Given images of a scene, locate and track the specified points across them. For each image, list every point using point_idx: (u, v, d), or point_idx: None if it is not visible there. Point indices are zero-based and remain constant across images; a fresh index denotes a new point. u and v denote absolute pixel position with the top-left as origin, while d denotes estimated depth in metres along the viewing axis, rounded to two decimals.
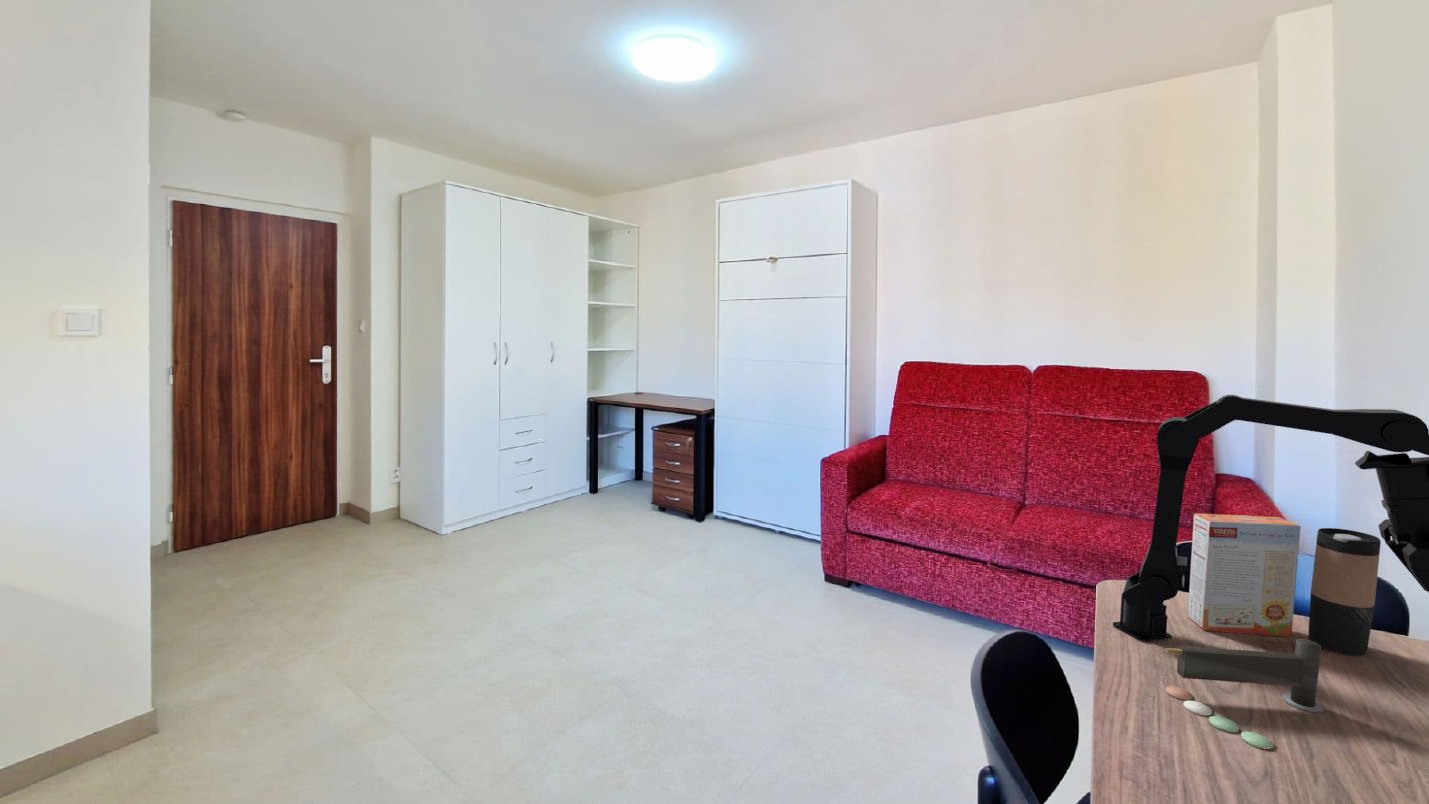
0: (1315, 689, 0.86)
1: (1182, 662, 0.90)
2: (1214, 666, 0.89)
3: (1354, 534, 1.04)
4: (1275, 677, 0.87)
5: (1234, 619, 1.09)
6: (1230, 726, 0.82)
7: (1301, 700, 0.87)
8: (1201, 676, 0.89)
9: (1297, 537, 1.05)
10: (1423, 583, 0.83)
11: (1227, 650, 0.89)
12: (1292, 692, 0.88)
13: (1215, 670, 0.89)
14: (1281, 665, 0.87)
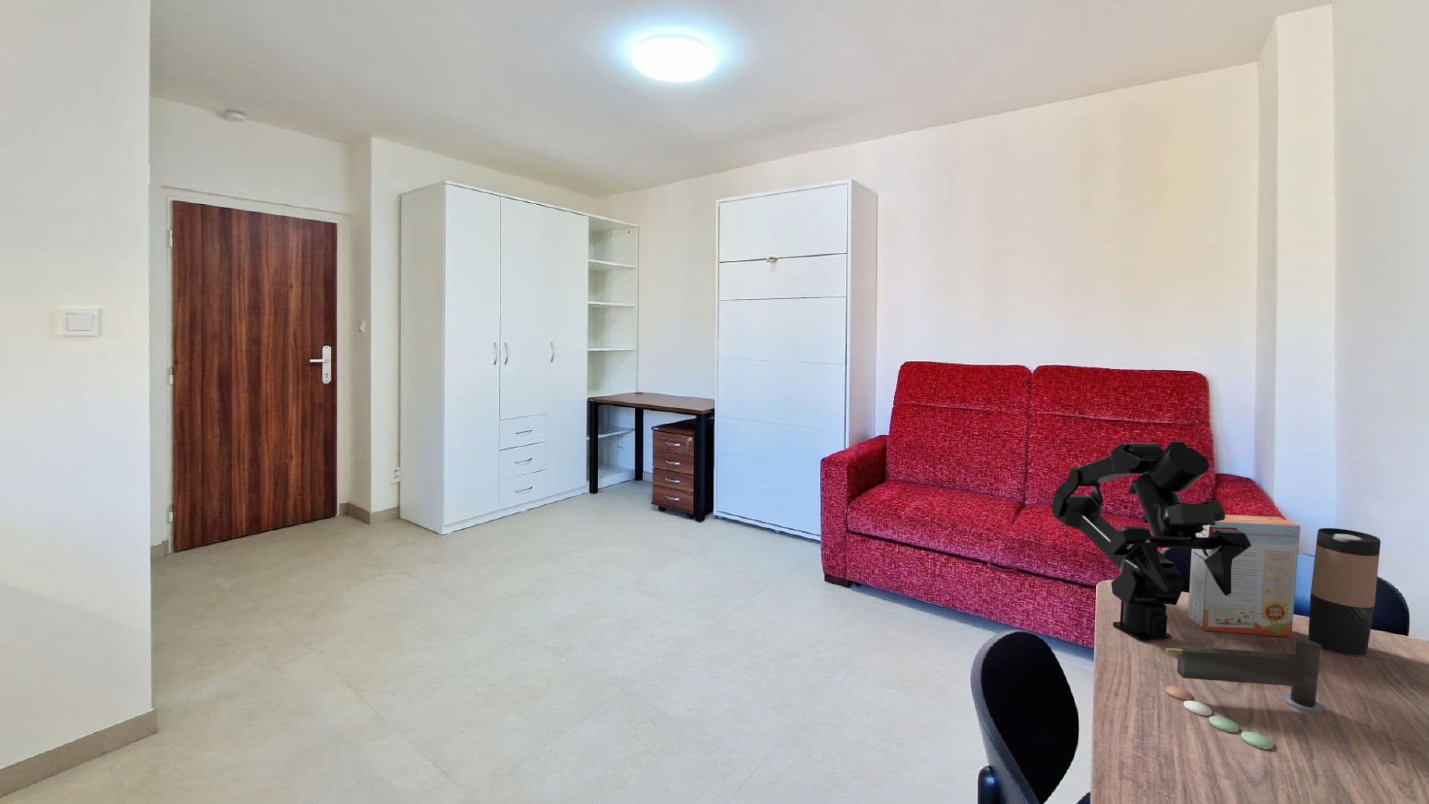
0: (1315, 689, 0.86)
1: (1182, 662, 0.90)
2: (1214, 666, 0.89)
3: (1354, 534, 1.04)
4: (1275, 677, 0.87)
5: (1234, 619, 1.09)
6: (1230, 726, 0.82)
7: (1301, 700, 0.87)
8: (1201, 676, 0.89)
9: (1297, 537, 1.05)
10: (1141, 568, 1.00)
11: (1227, 650, 0.89)
12: (1292, 692, 0.88)
13: (1215, 670, 0.89)
14: (1281, 665, 0.87)
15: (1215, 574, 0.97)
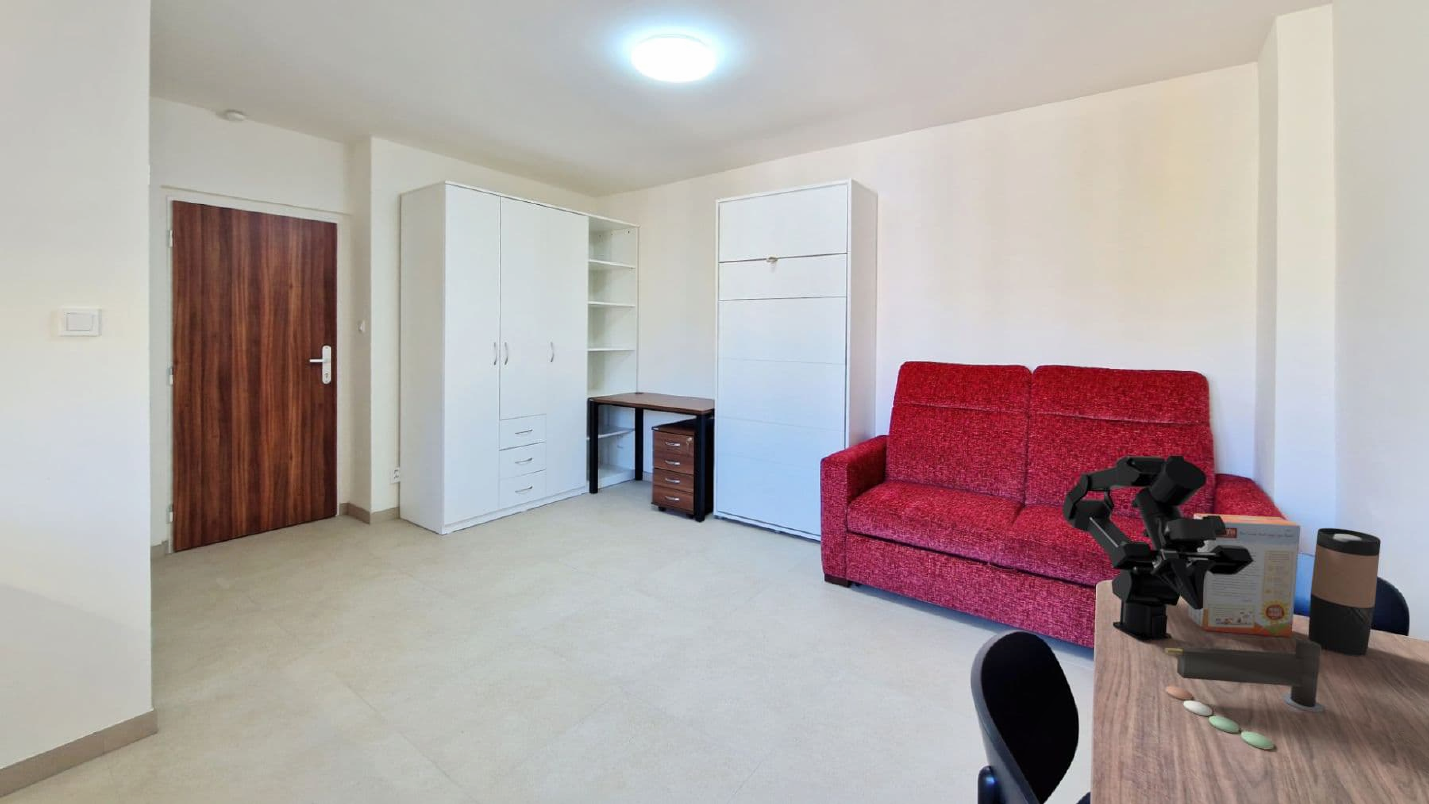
0: (1315, 689, 0.86)
1: (1182, 662, 0.90)
2: (1214, 666, 0.89)
3: (1354, 534, 1.04)
4: (1275, 677, 0.87)
5: (1234, 619, 1.09)
6: (1230, 726, 0.82)
7: (1301, 700, 0.87)
8: (1201, 676, 0.89)
9: (1297, 537, 1.05)
10: (1169, 584, 0.98)
11: (1227, 650, 0.89)
12: (1292, 692, 0.88)
13: (1215, 670, 0.89)
14: (1281, 665, 0.87)
15: None
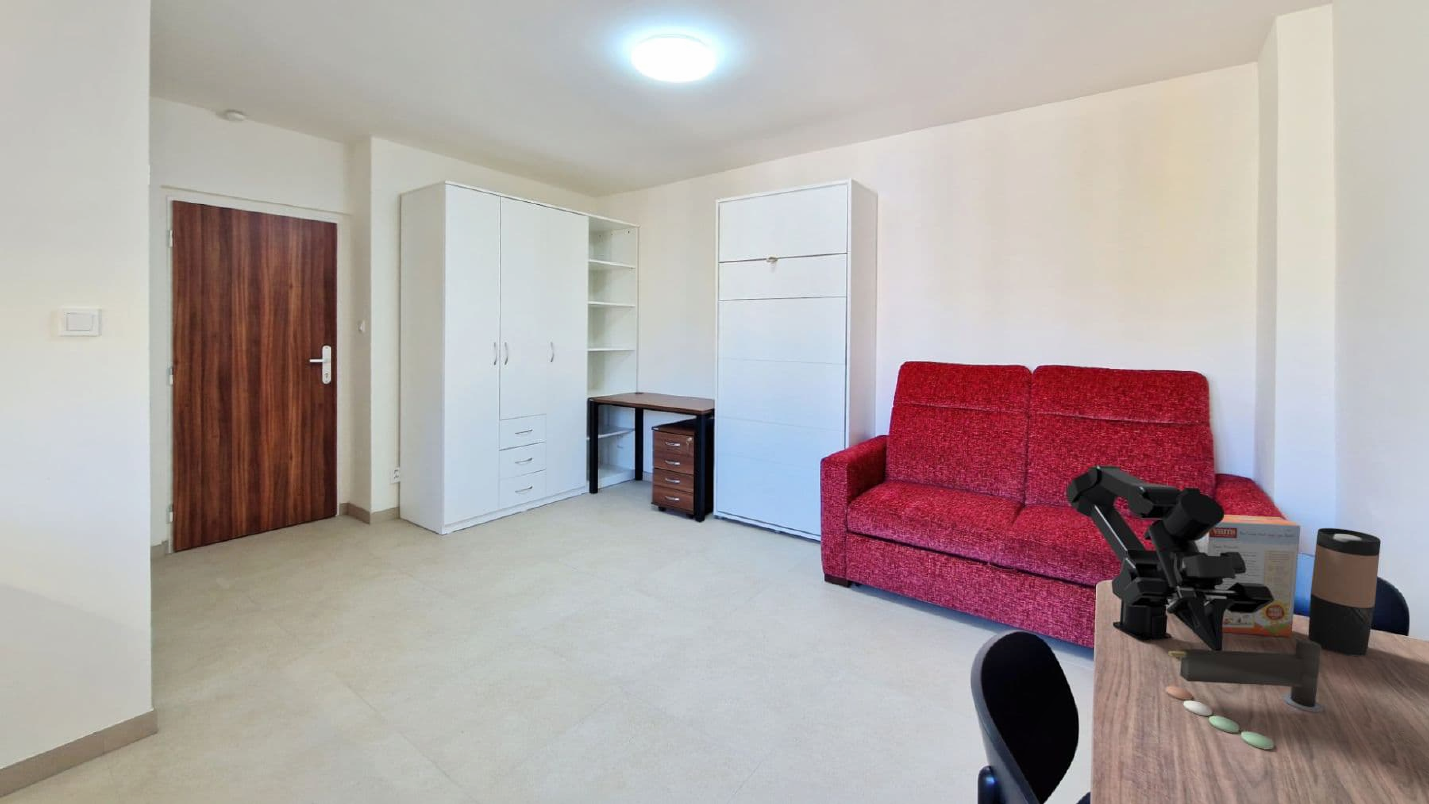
0: (1315, 689, 0.86)
1: (1186, 665, 0.89)
2: (1217, 668, 0.88)
3: (1354, 534, 1.04)
4: (1277, 678, 0.87)
5: (1234, 619, 1.09)
6: (1230, 726, 0.82)
7: (1302, 700, 0.87)
8: (1204, 679, 0.88)
9: (1297, 537, 1.05)
10: (1185, 623, 0.94)
11: (1229, 652, 0.89)
12: (1292, 692, 0.88)
13: (1218, 672, 0.88)
14: (1283, 666, 0.87)
15: None
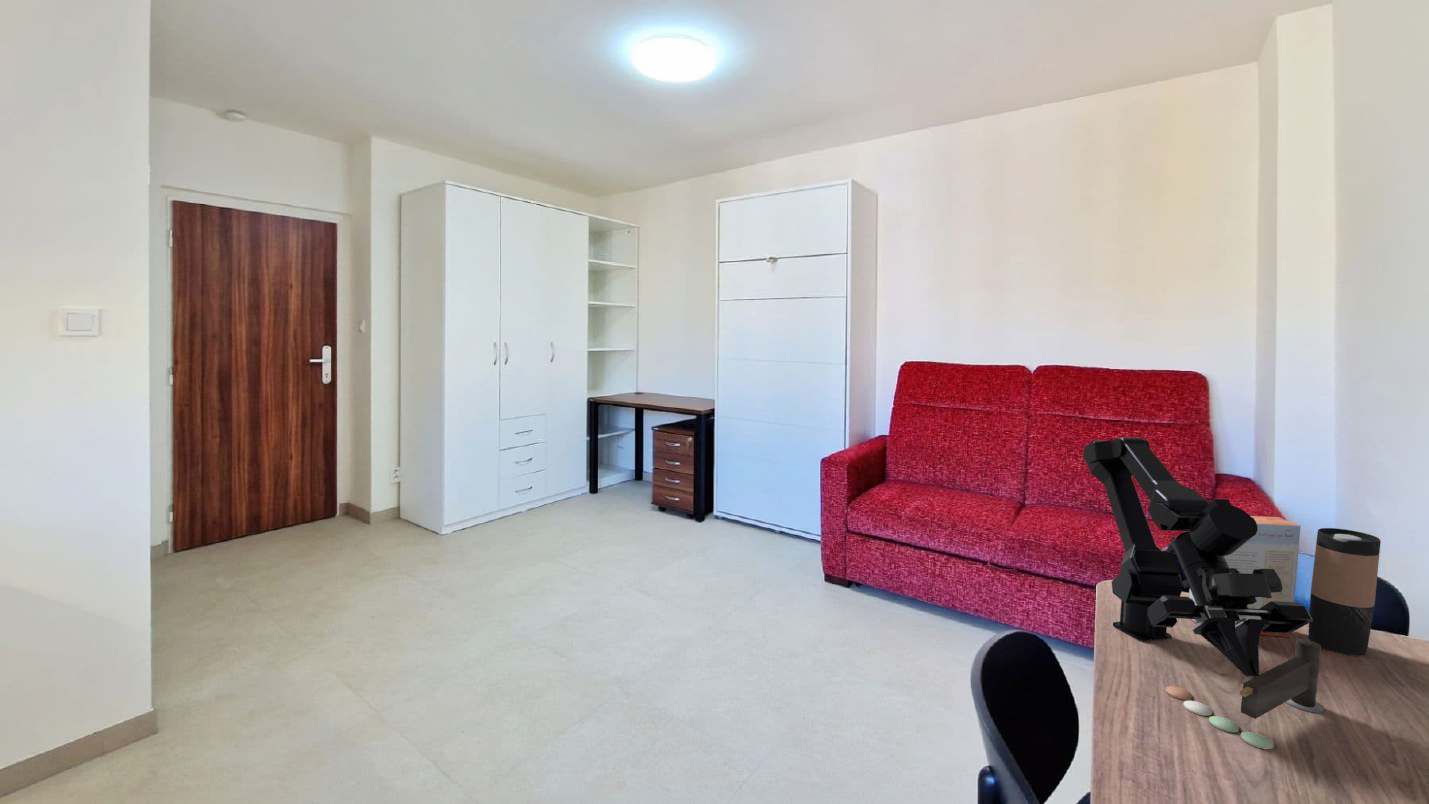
0: (1316, 687, 0.87)
1: (1252, 701, 0.80)
2: (1271, 695, 0.81)
3: (1354, 534, 1.04)
4: (1298, 687, 0.85)
5: None
6: (1230, 726, 0.82)
7: (1308, 702, 0.87)
8: (1264, 710, 0.81)
9: (1297, 537, 1.05)
10: (1214, 645, 0.87)
11: (1270, 673, 0.83)
12: (1297, 695, 0.87)
13: (1271, 699, 0.81)
14: (1301, 673, 0.85)
15: None
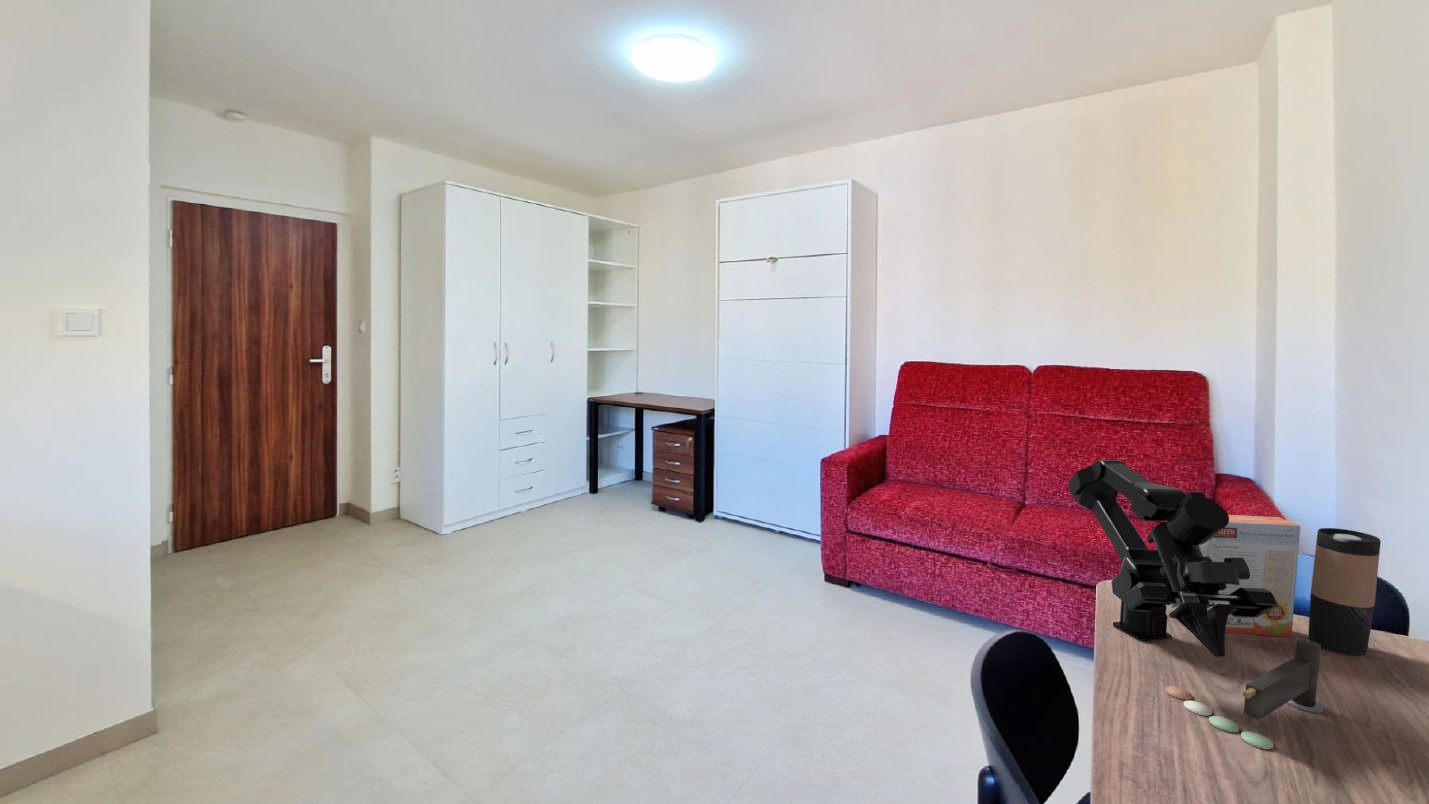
0: (1316, 687, 0.87)
1: (1255, 703, 0.80)
2: (1273, 696, 0.81)
3: (1354, 534, 1.04)
4: (1299, 687, 0.85)
5: (1234, 619, 1.09)
6: (1230, 726, 0.82)
7: (1309, 702, 0.87)
8: (1267, 711, 0.80)
9: (1297, 537, 1.05)
10: (1188, 628, 0.93)
11: (1272, 673, 0.83)
12: (1297, 695, 0.87)
13: (1274, 700, 0.81)
14: (1302, 673, 0.85)
15: None
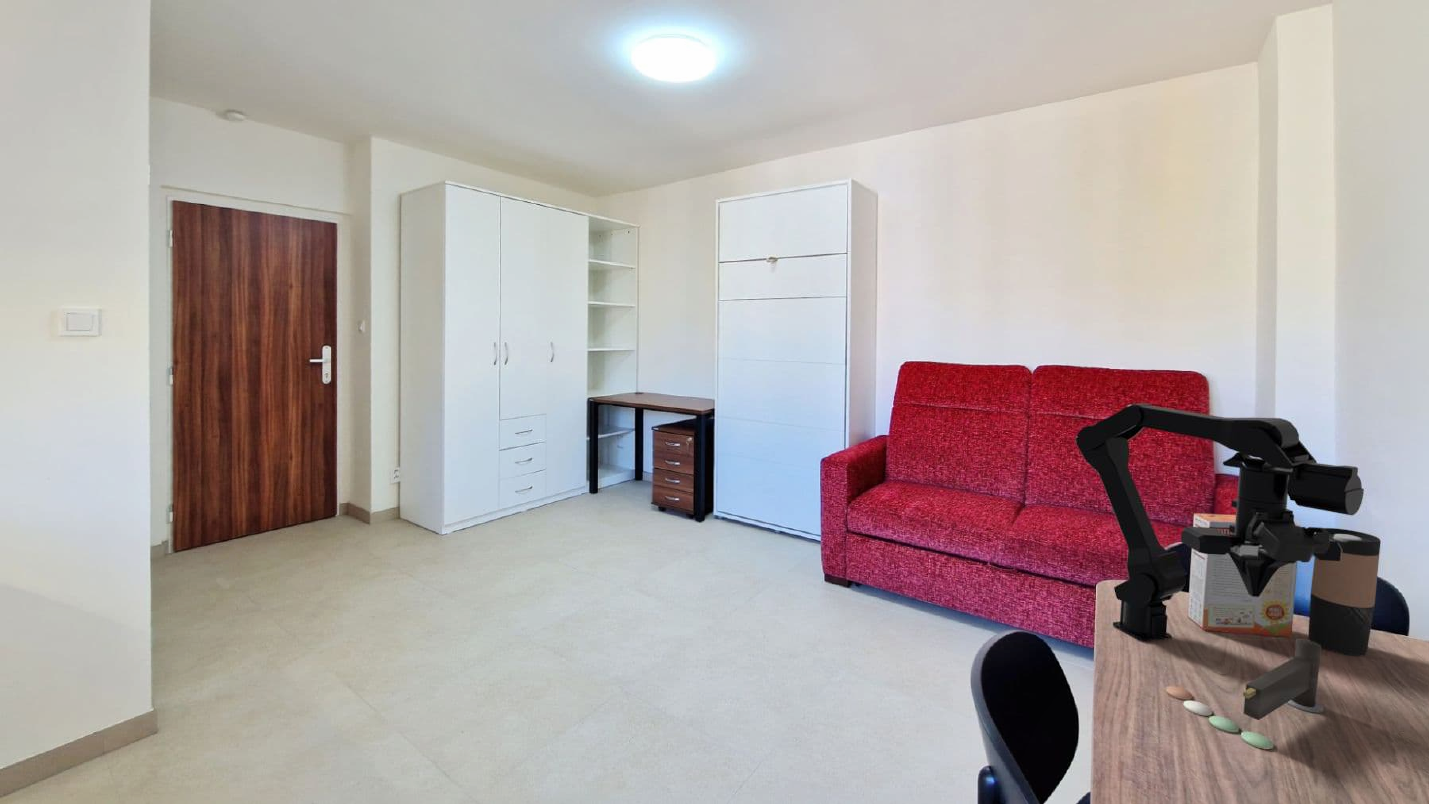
0: (1316, 687, 0.87)
1: (1255, 703, 0.80)
2: (1273, 696, 0.81)
3: (1354, 534, 1.04)
4: (1299, 687, 0.85)
5: (1234, 619, 1.09)
6: (1230, 726, 0.82)
7: (1309, 702, 0.87)
8: (1267, 711, 0.80)
9: None
10: (1234, 562, 0.96)
11: (1272, 673, 0.83)
12: (1297, 695, 0.87)
13: (1274, 700, 0.81)
14: (1302, 673, 0.85)
15: None
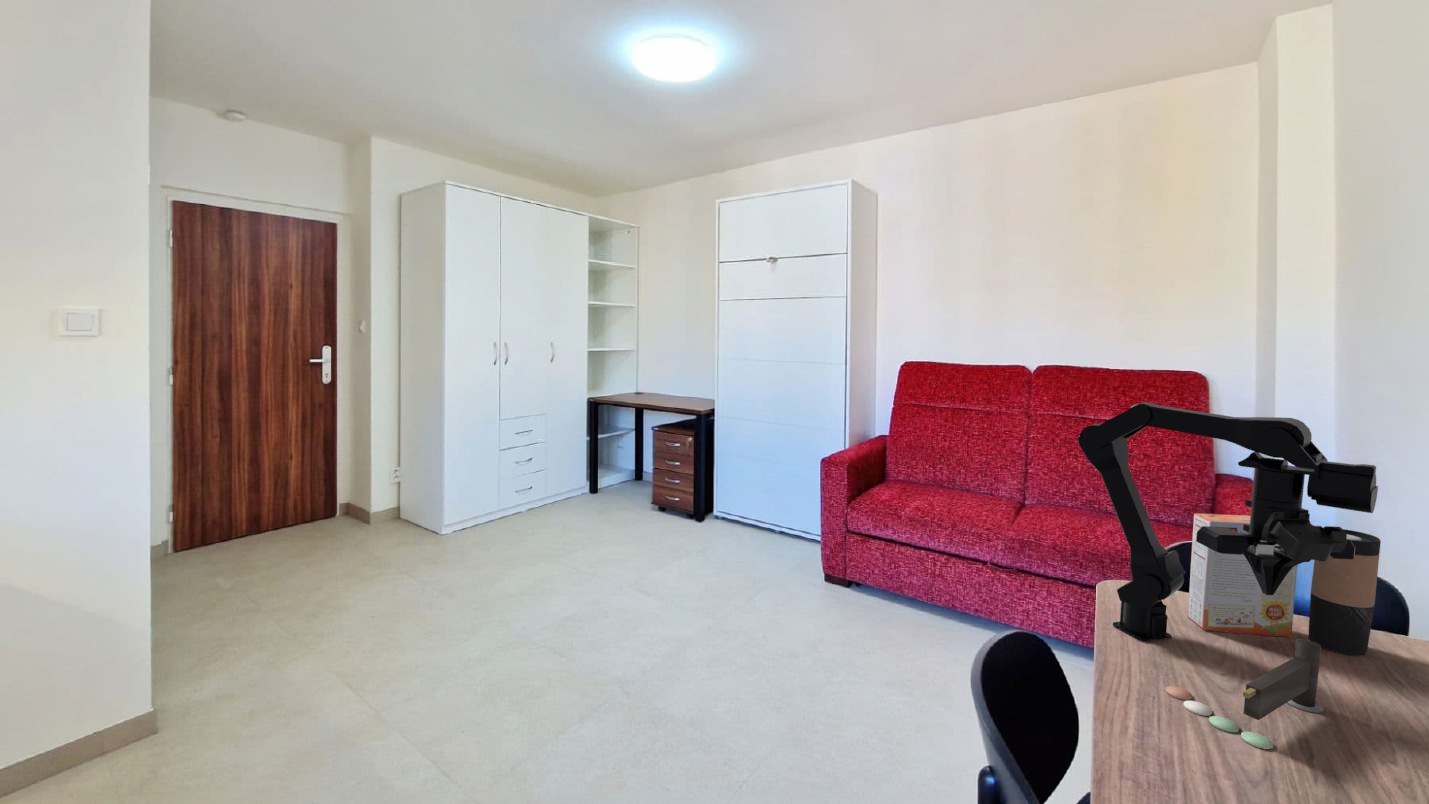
0: (1316, 687, 0.87)
1: (1255, 703, 0.80)
2: (1273, 696, 0.81)
3: (1354, 534, 1.04)
4: (1299, 687, 0.85)
5: (1234, 619, 1.09)
6: (1230, 726, 0.82)
7: (1309, 702, 0.87)
8: (1267, 711, 0.80)
9: None
10: (1248, 561, 0.97)
11: (1272, 673, 0.83)
12: (1297, 695, 0.87)
13: (1274, 700, 0.81)
14: (1302, 673, 0.85)
15: None
